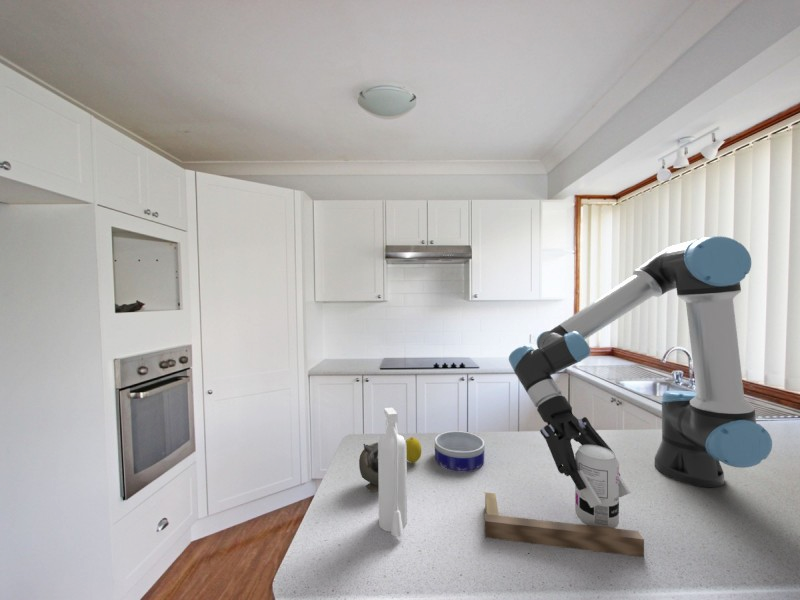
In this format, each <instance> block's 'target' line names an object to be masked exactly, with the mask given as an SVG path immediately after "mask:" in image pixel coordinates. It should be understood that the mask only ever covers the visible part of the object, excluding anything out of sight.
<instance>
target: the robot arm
mask: <svg viewBox="0 0 800 600" xmlns="http://www.w3.org/2000/svg"><path fill="white" fill-rule="evenodd" d="M751 268H752V258H751V255H750V252H749V250H748V249H747V248H746V247H745V245H743V244H742V243H741V242H739V241H737V240H735V239H733V238H731V237H726V236H718V235H717V236H709V237H701V238H696V239H693V240H689V241H686V242H682V243H681V242H680V243H678V244H674V245H671V246H668V247H667V248H665V249H663V250H662V251H660V252H658V253H657V254H656V255H654V256H653V257H652V258H650V259H648V260H647V261H646V262H644V263H643V264H642V265H640V266H639V267H637V268H636V269H635V270H633V273H632V276H630V277H628V278H627V279H626V280H624V281H623V282H621V283H620V284H618V285H616V286H615V287H614V288H613V289H610V290H609V291H608V292H606V293H605V294H603V295H602V296H600V297H599V298H598V299H596V300H595V301H592V302H591V303H590V304H589V305H587V306H585V307H584V308H582V309H581V310H579V311H578V312H576V313H575V314H573V315H572V316H570V317H569V318H568V319H565V320H564V321H563V322H560V323H559V324H558V325H556V326H555V327H554V328H552V329H551V330H546V331H543V332H541V333H540V334H539V335H538V337H537V339H536V346H537V348H535V349H534V348H533V347H532V346H531V345H523V346H519V347H517V348H515V349H514V350H512V351H511V353H510V354H509V356H508V362H509V364H510V366H511V368H512V370H513V372H514V374H515V375H516V377H517V378H518V380H519V382H520V383H521V385H522V387H523V389H524V390H525V392H526V393H527V395H528V397H529V399H530V400H531V402H532V404H533V405H534V407H535V408H536V410H537V412H538V415H539V416H540V418H541V419H542V421H543V422H544V423H545V424H546V425H545V426H543V427H542V428H541V429H540V430H539V433H540V434H541V436H542V437H543V439H544V440H545V442H546V444H547V446H548V449H549V451H550V454H551V456H552V459H553V462H554V464H555V466H556V468H557V470H558V473H559V474H562V475H563V474H564V475H565V476H566V477H571V480H572V481H573V483H574V485H576V487H577V488H578V489H579V490H581V492H582V494H583V495H584V497H585V499H586V500H587V502H588V504H589V506H590V507H591V508H592V507H595V506H597V505H599V504H601V503H602V502H601V501H600V499H599V497H598V496H597V494H596V492H595V491H594V489H593V487H592V486H591V484H590V482H589V481H588V479H587V477H586V476H585V474H584V473H583V471H582V470H580V471H578V468H577V464H576V460H575V453H574V450H573V446H572V445H573V444H572V440H574V441H575V442H576V443H579V444H580V446H582V445H597V446H601V447H604V448H607V449H609V450H611V451H612V452H613V453H614V451H613V450H612V448H611V447H610V446H609V444H607V442H605V440H604V439H603V438H602V437H601V436H600V435H599V432H598V431H596V429H595V428H594V427H593V426H592V424H591V423H590V421H589V419H588V418H587V417H586V416H583V418H577V417H576V415H574V414H573V407H572V406H571V404H570V402H569V401H568V399H567V398H566V396H565V395H563V391H562V390H561V388H560V386H559V385H558V384H557V383H556V381H555V380H554V379H553V377H552V375H555V374H556V373H558V372H561V371H562V370H564V369H567V368H570V367H571V366H573V365H575V364H577V363H581V362H582V361H583V360H585V359H586V358H588V357H590V355H591V354H592V352H591V351H592V350H591V348H590V345H589V344H588V343H587V341H586V340H587V339H588V338H590V337H591V336H593V335H594V334H596V333H597V332H600V331H601V330H602V329H604V328H605V327H607V326H608V325H610V324H612V323H613V322H615V321H617V320H618V319H620V318H621V317H623V316H624V315H625V314H627V313H629V312H631V311H632V310H634V309H635V308H636V307H639V306H640V305H641V304H643V303H645V302H646V301H647V300H650V299H652V297H656V298H657V297H658V298H659V297H661V296H662V295H664V294H666V293H668V292H670V291H672V290H676V295H677V297H678V298H679V299H682V300H683V301H684V302H685V307H686V316H687V323H688V334H689V340H690V350H691V359H692V369H693V375H694V383H695V391H692V390H691V391H689V390H667V391H664V392H663V393H662V398H661V403H660V404H661V442H660V443H659V447H658V449H657V450H656V453H655V456H654V467H655V468H656V469H657V471H659V472H660V473H661V474H663V475H664V476H666V477H668V478H671V479H674V480H676V481H679V482H681V483H684V484H688V485H693V486H696V487H697V486H698V487H704V488H718V487H721V486H723V485H724V484H725V474H724V473H725V472H724V470H723V468H722V467H723V466H722V465H721V463H723V464H725V465H726V466H730V467H733V468H740V469H744V468H751V467H755V466H758V465H759V464H761V463H762V461H763V460H766V459H767V458H768V457H769V456H770V454H771V451H772V449H773V439H772V437H771V434H770V433H769V432H768V430H767V429H765V427H764V426H762V425H761V424H760V423H757V418H756V416H757V415H756V409H755V405H753V404H752V403H750V402H749V401H747V400H746V399H745V393H744V384H743V377H742V374H743V373H742V367H741V359H740V349H739V340H738V331H737V324H736V315H735V304H734V298H735V297H736V296H738V295H739V294H740V293H741V292H742V288H741V282H742V281H743V280H744V279H745V278H746V276H747V274H750V271H751ZM631 493H632V492H631V490H630V489H629V487H628V486H627V485H626V483H625V481H624V480H623V478H622V477H621V473H620V472H619V498H621V497H624V496H627V495H628V494H631Z"/></svg>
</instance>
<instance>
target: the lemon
mask: <svg viewBox="0 0 800 600" xmlns="http://www.w3.org/2000/svg"><path fill="white" fill-rule="evenodd" d="M405 442H406V446H407V461H408V462H409V463H410V464H414V463H415V462H417V461H418V460H420V458H421V455H422V445H421V443H420V441H419V440H418V439H417V438H415V437H414V436H411V437H409V438H408V439H406V440H405Z"/></svg>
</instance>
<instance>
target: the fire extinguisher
mask: <svg viewBox="0 0 800 600" xmlns="http://www.w3.org/2000/svg"><path fill="white" fill-rule="evenodd" d="M383 409H384V415H385V418H386V421H385V434H384V435H382V436H380V438H379V440H378V478H379V493H378V524H379V527H380V528H381V529H382V530H383V531H385V532H390V533H391V535H392V536H396V537H401V536H402V535H403V534H404V532H405V531H404V529H405V528H406V526H407V525H408V486H407V485H408V473H407V471H408V470H407V466H408V464H407V463H408V462H407V446H406V442H405V441H406V440H405V438H404V436H403V435H401V434H399V433H398V426H397V423H399V419H398V413H397V411H396V410H395V409H394V407H384V408H383Z"/></svg>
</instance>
